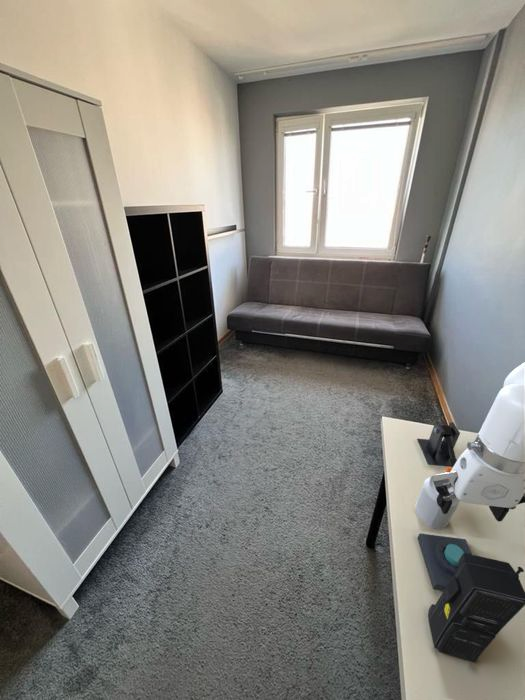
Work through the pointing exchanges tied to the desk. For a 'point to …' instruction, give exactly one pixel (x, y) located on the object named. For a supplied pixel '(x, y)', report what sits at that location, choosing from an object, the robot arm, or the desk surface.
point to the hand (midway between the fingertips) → (467, 510)
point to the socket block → (439, 558)
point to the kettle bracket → (438, 445)
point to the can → (433, 506)
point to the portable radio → (475, 606)
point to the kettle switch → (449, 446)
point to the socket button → (453, 554)
